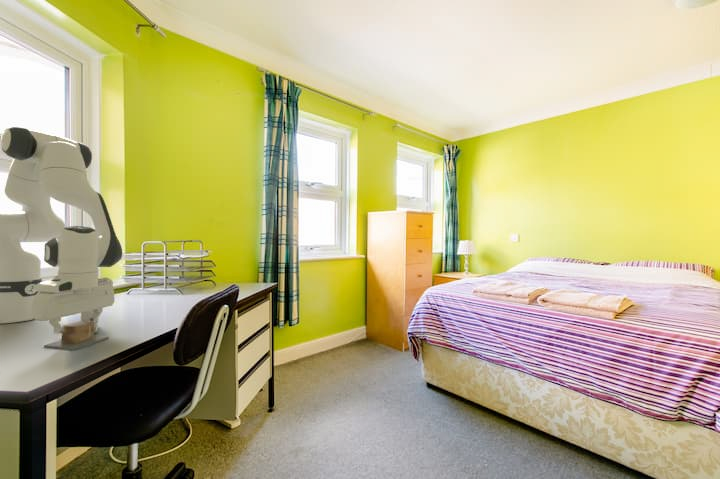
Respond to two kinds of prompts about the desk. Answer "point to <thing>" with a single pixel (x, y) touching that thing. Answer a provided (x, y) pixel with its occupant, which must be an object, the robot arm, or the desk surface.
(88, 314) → the white rounded upright block
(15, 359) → the desk surface
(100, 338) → the slate pad
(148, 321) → the desk surface
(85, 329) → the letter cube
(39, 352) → the desk surface
